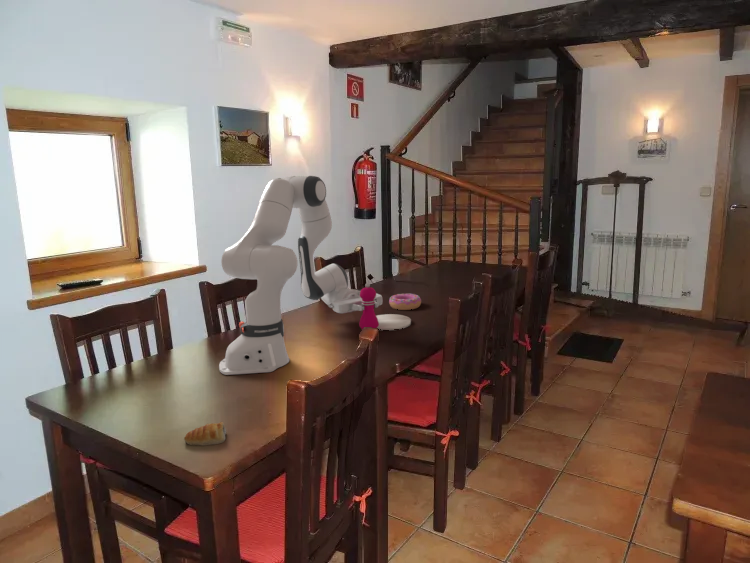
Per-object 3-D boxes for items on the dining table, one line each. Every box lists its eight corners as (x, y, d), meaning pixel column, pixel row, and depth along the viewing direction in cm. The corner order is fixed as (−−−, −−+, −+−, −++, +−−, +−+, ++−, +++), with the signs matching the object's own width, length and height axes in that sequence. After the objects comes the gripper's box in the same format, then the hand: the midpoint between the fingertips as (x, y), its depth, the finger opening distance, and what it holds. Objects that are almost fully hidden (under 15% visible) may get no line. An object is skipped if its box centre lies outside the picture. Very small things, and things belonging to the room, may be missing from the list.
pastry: (183, 450, 122) (182, 435, 122) (186, 437, 129) (184, 422, 128) (226, 444, 125) (224, 428, 124) (226, 431, 131) (225, 416, 130)
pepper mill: (376, 338, 196) (375, 285, 192) (357, 337, 198) (355, 285, 194) (380, 332, 203) (379, 281, 199) (362, 332, 204) (360, 280, 200)
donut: (421, 302, 246) (421, 292, 245) (421, 311, 233) (420, 299, 232) (390, 303, 248) (390, 292, 247) (388, 311, 234) (387, 300, 233)
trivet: (372, 332, 204) (372, 328, 204) (361, 320, 221) (361, 317, 221) (417, 327, 208) (417, 323, 208) (402, 315, 225) (402, 312, 225)
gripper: (325, 297, 202) (345, 303, 191) (369, 288, 213) (390, 294, 203) (326, 313, 203) (346, 320, 192) (370, 303, 215) (391, 310, 204)
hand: (369, 306), depth 197 cm, fingers closed on pepper mill, 5 cm apart
